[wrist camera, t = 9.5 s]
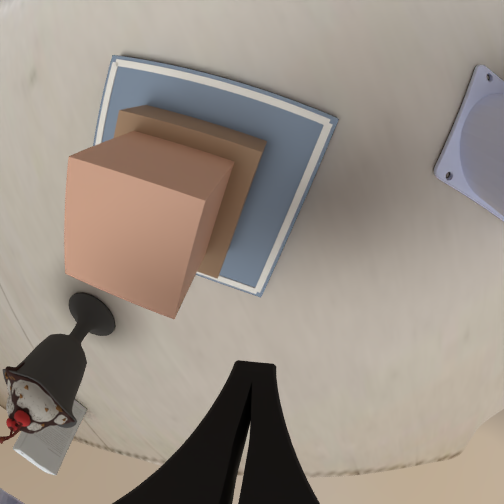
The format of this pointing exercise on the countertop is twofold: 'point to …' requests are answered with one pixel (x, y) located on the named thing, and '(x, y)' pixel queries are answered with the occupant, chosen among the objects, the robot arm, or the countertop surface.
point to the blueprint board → (242, 118)
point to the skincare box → (49, 443)
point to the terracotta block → (141, 217)
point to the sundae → (54, 372)
